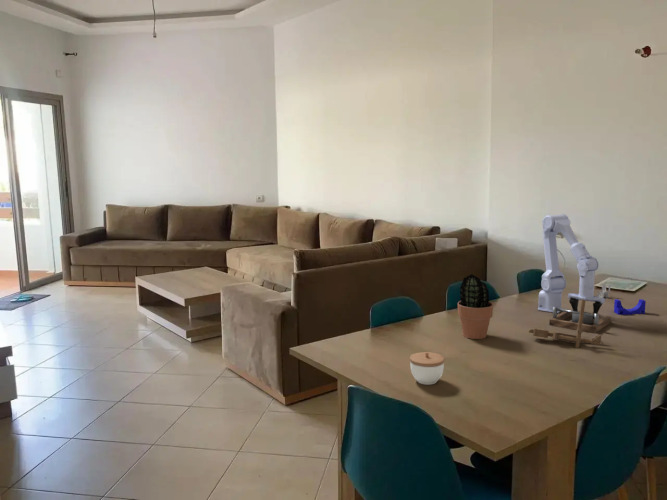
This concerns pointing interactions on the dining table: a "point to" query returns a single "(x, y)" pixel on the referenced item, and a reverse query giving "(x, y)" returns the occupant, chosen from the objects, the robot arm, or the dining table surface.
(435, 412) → the dining table surface
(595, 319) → the metal handle
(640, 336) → the dining table surface
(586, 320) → the grey round dome
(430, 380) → the lidded jar
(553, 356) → the dining table surface
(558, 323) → the frame
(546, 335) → the wooden figure
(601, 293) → the architectural model
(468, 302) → the potted plant
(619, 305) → the blue curved piece
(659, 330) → the dining table surface
